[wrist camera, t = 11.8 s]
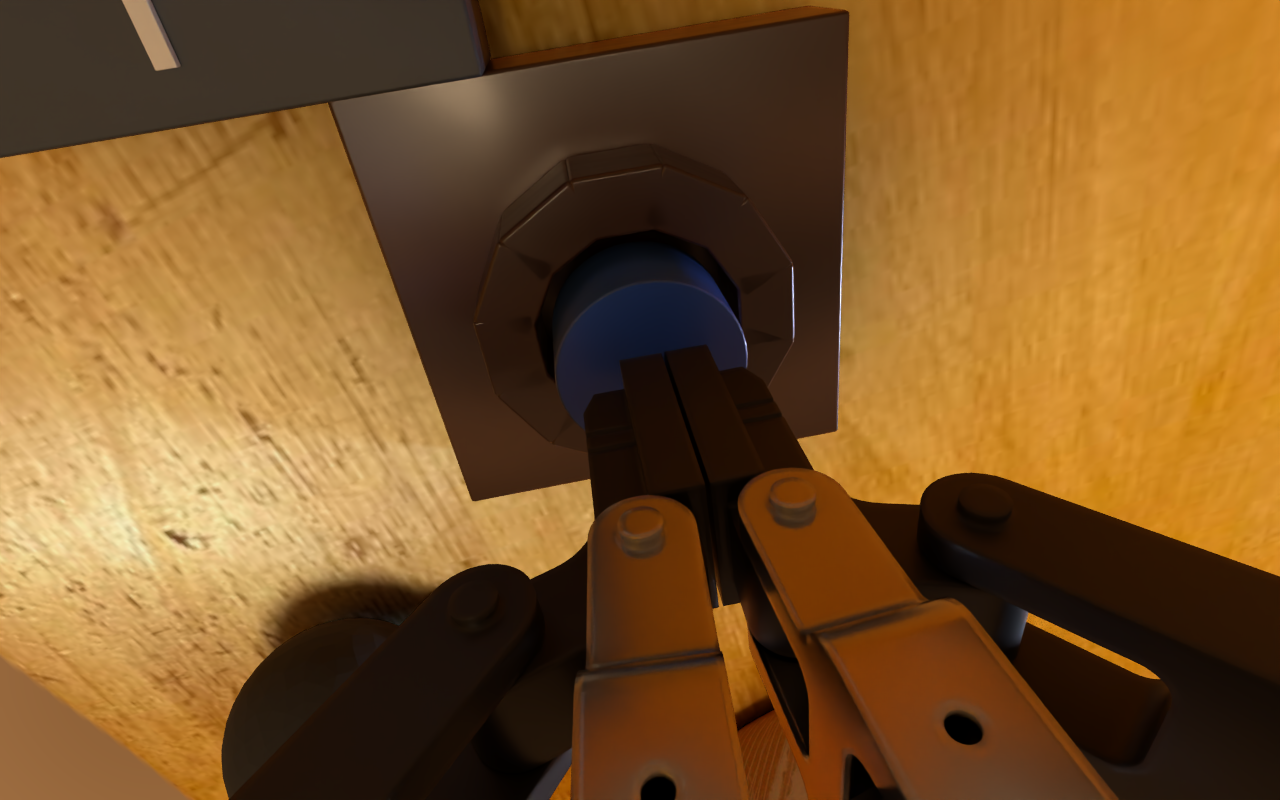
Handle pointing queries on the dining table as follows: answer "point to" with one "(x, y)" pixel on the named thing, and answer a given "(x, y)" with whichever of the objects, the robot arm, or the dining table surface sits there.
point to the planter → (770, 761)
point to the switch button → (636, 318)
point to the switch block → (610, 214)
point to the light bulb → (293, 690)
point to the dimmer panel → (214, 60)
